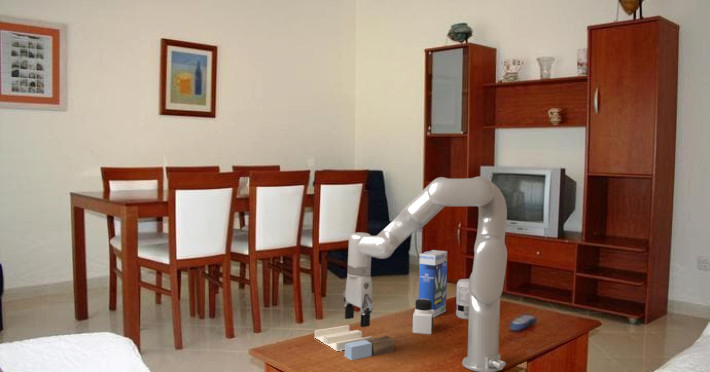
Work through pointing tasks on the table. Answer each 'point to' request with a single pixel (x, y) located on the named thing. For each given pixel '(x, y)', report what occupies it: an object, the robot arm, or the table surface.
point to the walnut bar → (382, 345)
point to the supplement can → (462, 299)
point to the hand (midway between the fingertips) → (356, 322)
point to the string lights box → (433, 279)
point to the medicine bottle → (423, 317)
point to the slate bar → (358, 350)
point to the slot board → (339, 336)
